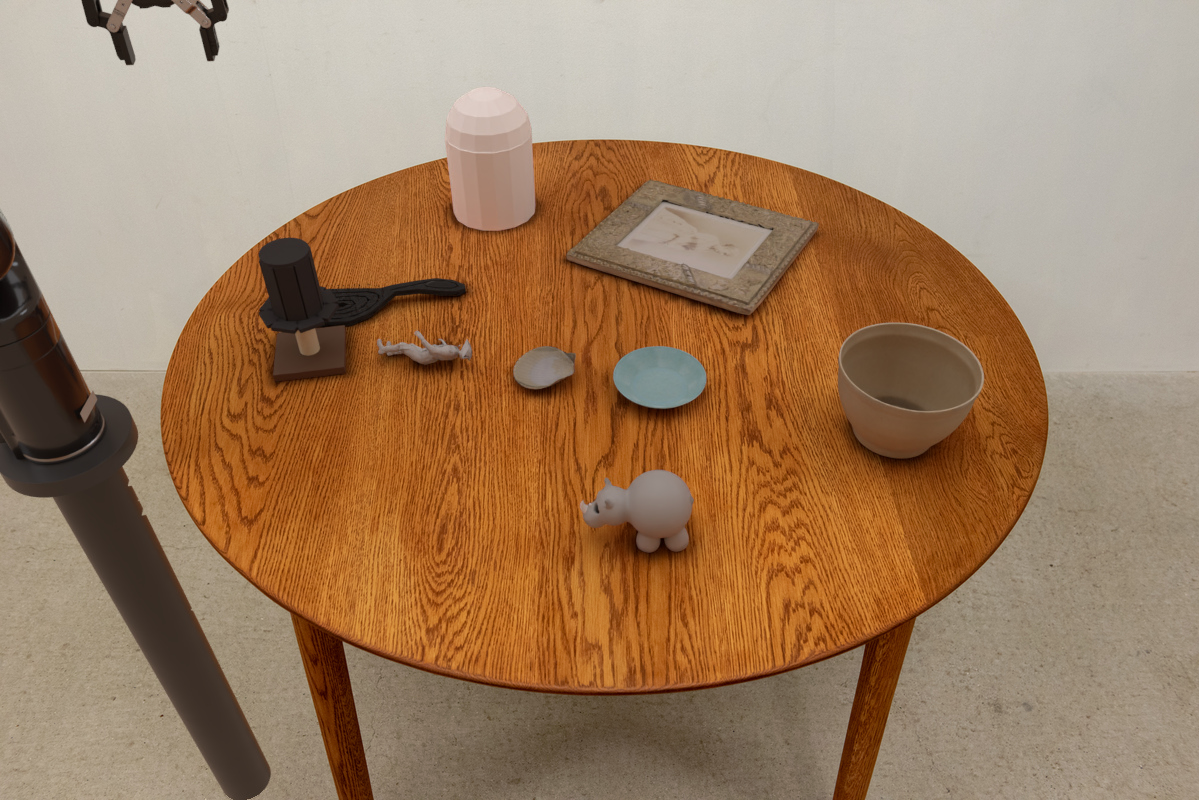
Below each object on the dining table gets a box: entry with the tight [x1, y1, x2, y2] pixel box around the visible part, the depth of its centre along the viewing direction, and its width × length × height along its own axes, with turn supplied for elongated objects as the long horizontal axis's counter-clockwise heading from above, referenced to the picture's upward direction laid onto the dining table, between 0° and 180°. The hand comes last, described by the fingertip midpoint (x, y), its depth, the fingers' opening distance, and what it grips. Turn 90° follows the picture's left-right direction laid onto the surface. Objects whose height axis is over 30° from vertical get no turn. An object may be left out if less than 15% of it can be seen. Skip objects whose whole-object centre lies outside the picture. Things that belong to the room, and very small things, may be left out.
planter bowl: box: [837, 322, 985, 459], centre depth 112 cm, size 16×16×11 cm
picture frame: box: [565, 179, 820, 316], centre depth 145 cm, size 27×30×3 cm
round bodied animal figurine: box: [579, 469, 695, 554], centre depth 101 cm, size 7×12×8 cm, turn 90°
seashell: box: [512, 345, 577, 390], centre depth 122 cm, size 8×3×8 cm
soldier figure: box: [376, 330, 473, 366], centre depth 124 cm, size 8×5×12 cm
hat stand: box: [272, 325, 347, 383], centre depth 121 cm, size 9×9×16 cm
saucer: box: [612, 345, 707, 410], centre depth 120 cm, size 12×12×2 cm
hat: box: [258, 237, 339, 334], centre depth 118 cm, size 10×10×9 cm
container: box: [444, 86, 536, 232], centre depth 147 cm, size 14×13×20 cm
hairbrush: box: [319, 277, 467, 328], centre depth 133 cm, size 8×4×25 cm
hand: (171, 60), depth 106 cm, fingers open, 8 cm apart
